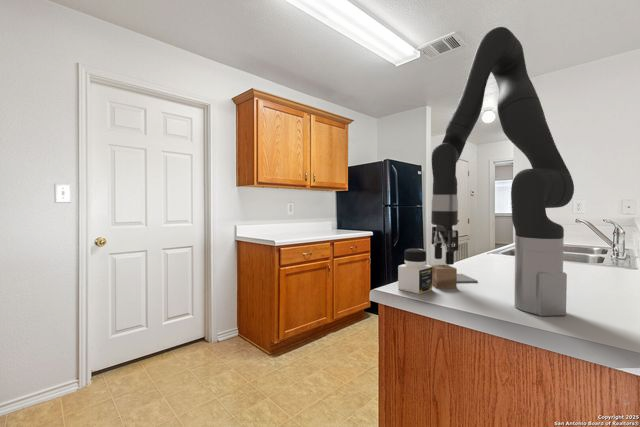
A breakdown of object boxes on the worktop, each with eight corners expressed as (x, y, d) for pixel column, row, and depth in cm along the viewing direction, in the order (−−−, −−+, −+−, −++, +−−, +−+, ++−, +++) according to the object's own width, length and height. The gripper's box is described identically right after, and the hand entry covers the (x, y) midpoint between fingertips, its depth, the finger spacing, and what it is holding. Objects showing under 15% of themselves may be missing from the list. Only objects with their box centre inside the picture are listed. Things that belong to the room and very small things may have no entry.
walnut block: (456, 288, 89) (456, 268, 89) (436, 288, 89) (436, 268, 89) (447, 283, 95) (447, 264, 95) (428, 283, 95) (428, 264, 95)
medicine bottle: (419, 294, 83) (419, 251, 83) (397, 289, 88) (397, 248, 88) (432, 289, 88) (432, 249, 87) (410, 285, 93) (411, 246, 93)
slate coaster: (477, 282, 96) (477, 280, 96) (447, 282, 95) (447, 281, 95) (461, 275, 106) (461, 273, 106) (434, 275, 105) (434, 274, 105)
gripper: (468, 210, 85) (466, 266, 86) (446, 208, 100) (445, 257, 100) (441, 210, 85) (440, 266, 86) (424, 208, 99) (423, 257, 100)
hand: (443, 261), depth 93 cm, fingers open, 8 cm apart
